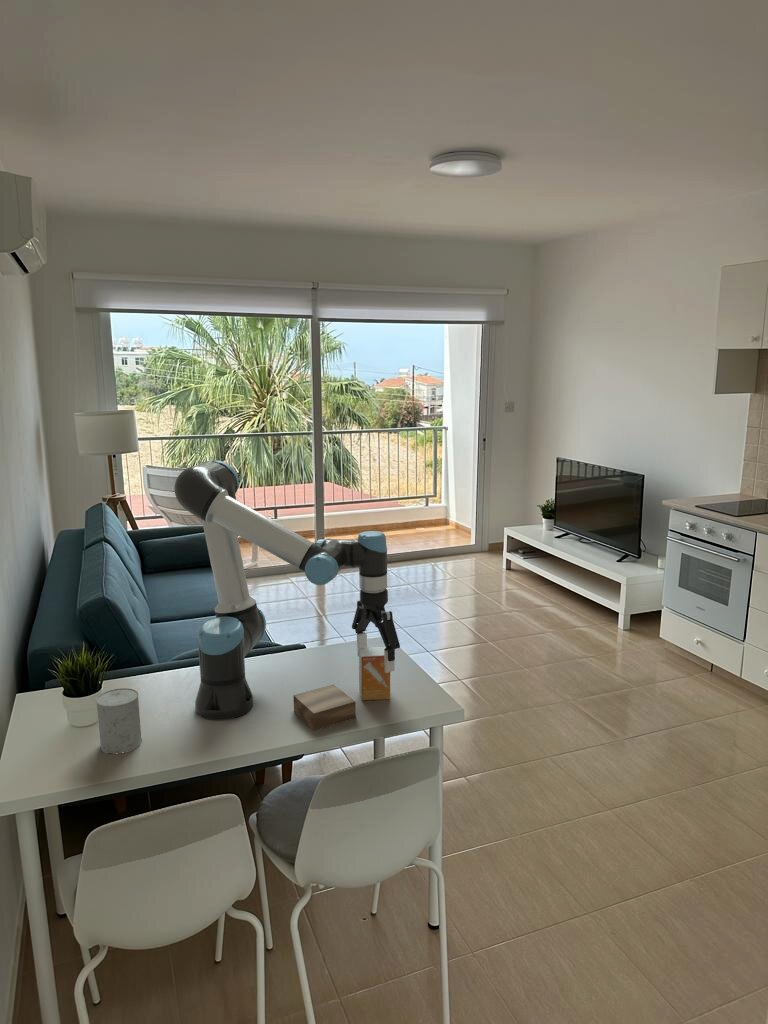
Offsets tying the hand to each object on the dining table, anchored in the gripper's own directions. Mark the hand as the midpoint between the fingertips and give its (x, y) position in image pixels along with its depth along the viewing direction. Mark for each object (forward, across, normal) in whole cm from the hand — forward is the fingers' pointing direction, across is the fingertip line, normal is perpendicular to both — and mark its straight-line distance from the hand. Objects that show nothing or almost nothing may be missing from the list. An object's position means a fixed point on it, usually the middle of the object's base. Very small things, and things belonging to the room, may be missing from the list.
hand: (375, 663), depth 199 cm
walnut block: (+10, -2, +17) cm, 20 cm away
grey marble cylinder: (+9, +13, +65) cm, 67 cm away
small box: (+10, 0, 0) cm, 10 cm away
